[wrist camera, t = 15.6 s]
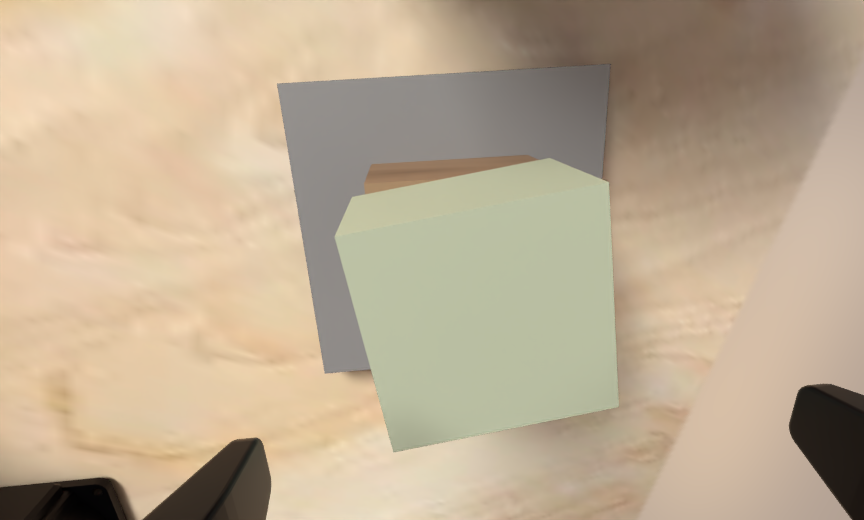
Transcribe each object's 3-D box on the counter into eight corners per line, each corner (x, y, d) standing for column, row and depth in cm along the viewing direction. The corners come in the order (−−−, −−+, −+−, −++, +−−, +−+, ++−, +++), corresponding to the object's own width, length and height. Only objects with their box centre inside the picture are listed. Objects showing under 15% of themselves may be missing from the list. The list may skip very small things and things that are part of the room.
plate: (577, 333, 22) (589, 349, 21) (329, 355, 21) (324, 373, 20) (593, 66, 18) (610, 64, 16) (286, 84, 17) (277, 83, 16)
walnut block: (524, 296, 19) (554, 344, 16) (384, 307, 19) (381, 358, 15) (527, 154, 17) (564, 171, 14) (371, 164, 17) (364, 183, 13)
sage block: (565, 331, 16) (618, 406, 12) (394, 365, 15) (393, 452, 12) (549, 157, 13) (609, 182, 10) (351, 196, 13) (334, 236, 10)
